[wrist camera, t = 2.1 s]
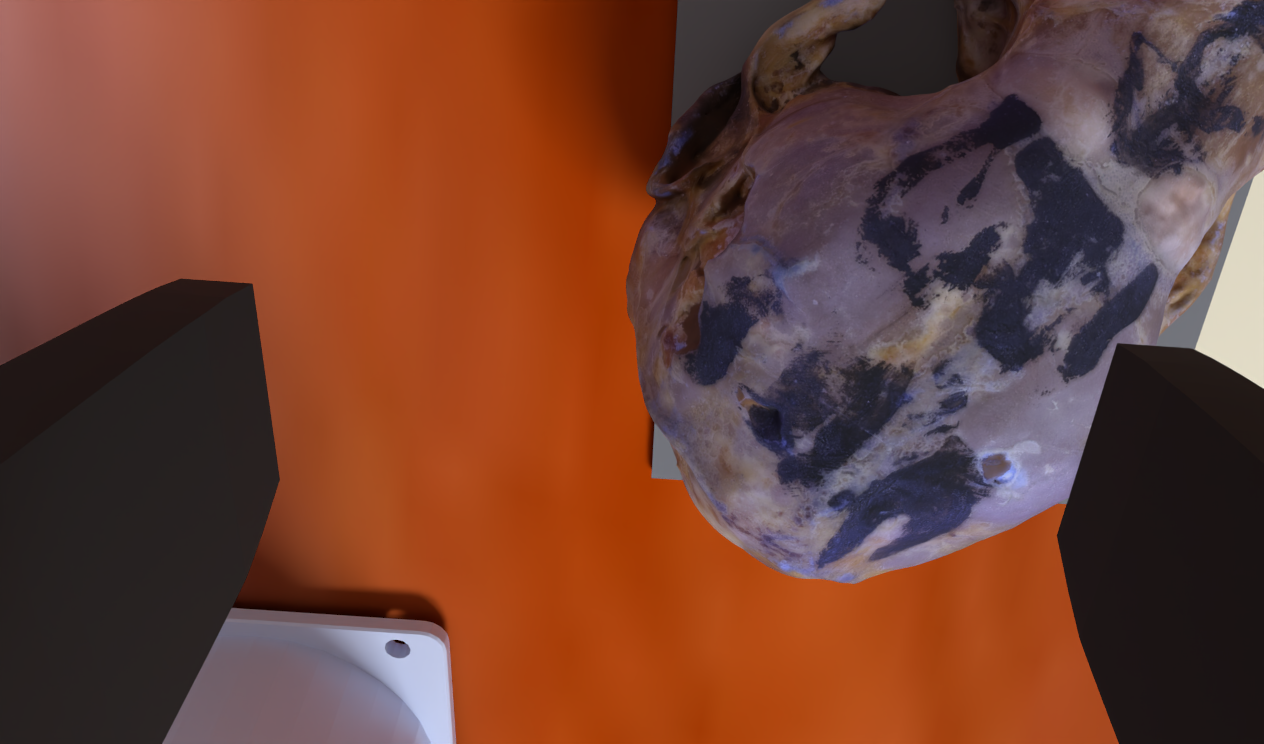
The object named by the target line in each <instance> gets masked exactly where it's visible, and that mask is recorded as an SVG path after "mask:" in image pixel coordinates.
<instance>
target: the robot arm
mask: <svg viewBox="0 0 1264 744" xmlns="http://www.w3.org/2000/svg"><path fill="white" fill-rule="evenodd" d="M279 480H280V478H279V471H278V464H277V456H276V449H275V442H274V435H273V428H272V420H271V413H270V406H269V399H268V392H267V384H266V377H265V370H264V363H263V356H262V348H261V341H260V334H259V327H258V320H257V312H256V305H255V298H254V291H253V284H250V283H235V282H220V281H206V280H191V279H179V280H176V281H174V282H171V283H168V284H165V285H163V286H160V287H158V288H155V289H153V290H151V291H148V292H146V293H144V294H142V295H140V296H138V297H135V298H133V299H131V300H129V301H127V302H125V303H123V304H121V305H119V306H117V307H115V308H113V309H111V310H109V311H107V312H105V313H103V314H101V315H99V316H97V317H95V318H93V319H91V320H89V321H87V322H85V323H83V324H81V325H79V326H77V327H75V328H73V329H71V330H69V331H67V332H65V333H64V334H62V335H60V336H58V337H56V338H54V339H52V340H50V341H48V342H46V343H44V344H42V345H40V346H38V347H36V348H34V349H32V350H30V351H28V352H26V353H24V354H22V355H20V356H18V357H16V358H14V359H12V360H10V361H9V362H7V363H5V364H3V365H1V366H0V744H456V733H455V719H454V704H453V689H452V674H451V659H450V644H449V638H448V635H447V633H446V632H445V630H444V629H443V628H442V627H440V626H438V625H437V624H435V623H433V622H428V621H421V620H406V619H391V618H376V617H361V616H346V615H331V614H316V613H301V612H286V611H271V610H256V609H241V608H232V606H233V604H234V602H235V600H236V598H237V596H238V594H239V592H240V590H241V588H242V586H243V584H244V582H245V580H246V578H247V575H248V572H249V570H250V567H251V564H252V561H253V558H254V556H255V553H256V550H257V547H258V544H259V542H260V539H261V536H262V533H263V530H264V527H265V524H266V521H267V518H268V514H269V511H270V508H271V505H272V502H273V499H274V496H275V493H276V490H277V486H278V483H279ZM1057 538H1058V543H1059V548H1060V553H1061V558H1062V563H1063V567H1064V572H1065V577H1066V582H1067V587H1068V592H1069V596H1070V600H1071V604H1072V609H1073V613H1074V617H1075V621H1076V625H1077V629H1078V634H1079V638H1080V641H1081V643H1082V646H1083V649H1084V652H1085V655H1086V657H1087V660H1088V663H1089V666H1090V668H1091V671H1092V674H1093V676H1094V679H1095V682H1096V684H1097V687H1098V689H1099V692H1100V695H1101V697H1102V700H1103V703H1104V705H1105V708H1106V711H1107V713H1108V716H1109V719H1110V721H1111V724H1112V726H1113V729H1114V732H1115V734H1116V737H1117V739H1118V742H1119V744H1264V389H1263V388H1262V387H1260V386H1259V385H1257V384H1255V383H1254V382H1252V381H1251V380H1249V379H1247V378H1246V377H1244V376H1242V375H1241V374H1239V373H1237V372H1236V371H1234V370H1232V369H1231V368H1229V367H1227V366H1225V365H1224V364H1222V363H1220V362H1218V361H1216V360H1215V359H1213V358H1211V357H1209V356H1207V355H1205V354H1203V353H1201V352H1199V351H1197V350H1194V349H1192V348H1181V347H1166V346H1152V345H1137V344H1122V343H1117V345H1116V348H1115V352H1114V355H1113V358H1112V361H1111V364H1110V368H1109V371H1108V374H1107V377H1106V380H1105V384H1104V387H1103V390H1102V393H1101V396H1100V400H1099V403H1098V406H1097V409H1096V412H1095V415H1094V419H1093V422H1092V425H1091V428H1090V431H1089V435H1088V438H1087V441H1086V444H1085V447H1084V451H1083V454H1082V457H1081V460H1080V463H1079V467H1078V470H1077V473H1076V476H1075V479H1074V483H1073V486H1072V489H1071V492H1070V495H1069V499H1068V502H1067V505H1066V508H1065V511H1064V515H1063V518H1062V521H1061V524H1060V527H1059V531H1058V534H1057ZM393 640H400V641H404V642H405V643H406V644H400V643H396V642H395V641H393Z"/></svg>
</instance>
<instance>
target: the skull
mask: <svg viewBox="0 0 1264 744" xmlns="http://www.w3.org/2000/svg"><path fill="white" fill-rule="evenodd" d="M886 1H887V0H811V1H810V2H808V3H807V4H805V5H803V6H802V7H800V8H798V9H796V10H794V11H792V12H791V13H789V14H787V15H785V16H784V17H782V18H781V19H779V20H778V21H776V22H775V23H774V24H772V25H771V26H770V27H769V28H768V29H767V30H766V31H765V32H764V33H763V35H762V36H761V37H760V39H759V40H758V42H757V44H756V45H755V47H754V49H753V51H752V52H751V54H750V55H749V57H748V58H747V60H746V61H745V63H744V64H743V67H742V71H741V72H740V73H738V74H736V75H734V76H733V77H731V78H729V79H727V80H725V81H722V82H720V83H717V84H714V85H712V86H711V87H709V88H708V89H707V90H705V91H704V92H703V93H702V94H701V95H700V97H699V98H698V99H697V100H696V102H695V103H694V104H693V105H692V106H691V107H690V108H689V109H688V110H687V111H686V112H685V113H684V114H683V115H682V116H681V117H680V118H679V119H678V120H677V121H676V123H675V124H674V125H673V126H672V128H671V130H670V132H669V135H668V143H667V146H666V149H665V151H664V154H663V156H662V158H661V159H660V161H659V162H658V163H657V165H656V167H655V169H654V171H653V173H652V175H651V177H650V179H649V181H648V183H647V186H646V191H647V193H648V194H649V195H650V196H652V197H654V198H655V199H656V205H655V207H654V209H653V210H652V211H651V213H650V214H649V215H648V217H647V218H646V220H645V221H644V223H643V225H642V227H641V229H640V232H639V234H638V238H637V241H636V244H635V248H634V251H633V254H632V257H631V261H630V265H629V272H628V275H627V280H626V291H627V299H628V302H627V311H628V315H629V318H630V320H631V322H632V324H633V326H634V329H635V336H636V351H637V363H638V373H639V380H640V385H641V389H642V393H643V397H644V401H645V405H646V407H647V410H648V412H649V414H650V416H651V417H652V419H653V421H654V423H655V424H656V425H657V427H658V428H659V429H660V430H661V432H662V433H663V435H664V436H665V438H666V439H667V440H668V441H669V442H670V444H671V447H672V449H673V452H674V455H675V457H676V460H677V465H676V466H677V467H678V468H679V470H680V473H681V476H682V479H683V481H684V484H685V487H686V489H687V491H688V493H689V495H690V497H691V499H692V501H693V502H694V504H695V506H696V507H697V509H698V510H699V511H700V512H701V514H702V515H703V516H704V517H705V519H706V520H707V521H708V522H709V523H710V524H711V525H712V526H713V527H714V528H715V529H716V530H717V531H718V532H719V533H720V534H722V535H723V536H724V537H725V538H727V539H728V540H729V541H731V542H732V543H734V544H736V545H737V546H739V547H741V548H743V549H744V550H745V551H746V552H747V553H749V554H750V555H751V556H753V557H754V558H756V559H757V560H759V561H760V562H762V563H763V564H765V565H766V566H768V567H770V568H772V569H774V570H776V571H778V572H780V573H783V574H785V575H788V576H792V577H796V578H804V579H825V580H832V581H836V582H840V583H852V584H855V583H858V582H861V581H863V580H865V579H867V578H870V577H873V576H876V575H879V574H882V573H885V572H888V571H892V570H896V569H901V568H906V567H911V566H915V565H918V564H922V563H925V562H928V561H931V560H934V559H937V558H940V557H942V556H945V555H948V554H950V553H953V552H955V551H958V550H960V549H963V548H965V547H967V546H970V545H972V544H974V543H976V542H978V541H981V540H984V539H986V538H989V537H991V536H994V535H996V534H998V533H1001V532H1003V531H1006V530H1009V529H1011V528H1014V527H1015V526H1017V525H1019V524H1021V523H1022V522H1024V521H1026V520H1028V519H1030V518H1031V517H1033V516H1035V515H1037V514H1039V513H1041V512H1043V511H1044V510H1046V509H1048V508H1050V507H1051V506H1053V505H1055V504H1057V503H1059V502H1061V501H1063V500H1065V499H1067V498H1069V495H1070V492H1071V489H1072V486H1073V483H1074V479H1075V476H1076V473H1077V470H1078V467H1079V463H1080V460H1081V457H1082V454H1083V451H1084V447H1085V444H1086V441H1087V438H1088V435H1089V431H1090V428H1091V425H1092V422H1093V419H1094V415H1095V412H1096V409H1097V406H1098V403H1099V400H1100V396H1101V393H1102V390H1103V387H1104V384H1105V380H1106V377H1107V374H1108V371H1109V368H1110V364H1111V361H1112V358H1113V355H1114V352H1115V348H1116V345H1117V343H1122V344H1137V345H1152V346H1156V344H1157V341H1158V337H1159V336H1160V335H1161V334H1162V333H1163V332H1164V331H1165V330H1166V329H1167V328H1168V327H1169V326H1170V325H1171V324H1172V323H1173V322H1174V321H1175V320H1176V319H1177V318H1178V317H1180V316H1181V315H1182V314H1183V313H1184V312H1185V311H1186V310H1187V309H1188V308H1189V307H1190V306H1191V305H1192V304H1193V303H1194V302H1195V301H1196V299H1197V298H1198V297H1199V296H1200V294H1201V293H1202V291H1203V290H1204V289H1205V287H1206V286H1207V285H1208V283H1209V282H1210V281H1211V279H1212V276H1213V272H1214V269H1215V266H1216V264H1217V261H1218V258H1219V255H1220V253H1221V249H1222V245H1223V240H1224V236H1225V230H1226V225H1227V220H1228V216H1229V213H1230V210H1231V206H1232V203H1233V199H1234V196H1235V194H1236V192H1237V191H1238V190H1239V189H1240V188H1241V187H1242V186H1243V185H1244V184H1245V183H1247V182H1248V181H1249V180H1251V179H1252V178H1253V177H1255V176H1256V175H1257V174H1259V173H1260V172H1262V171H1263V170H1264V0H954V8H956V10H957V36H958V55H957V60H956V74H957V78H958V82H959V83H957V84H954V85H950V86H948V87H947V88H945V89H943V90H941V91H939V92H936V93H931V94H919V95H911V96H901V95H899V94H897V93H895V92H892V91H890V90H887V89H884V88H881V87H874V86H864V85H861V84H858V83H853V82H844V81H834V80H831V79H829V78H828V77H826V76H825V75H824V74H823V72H822V71H821V70H820V68H821V65H822V63H823V62H824V61H825V60H826V58H827V57H828V56H829V55H830V54H831V52H832V50H833V49H834V47H835V42H836V37H837V33H840V32H844V31H851V30H855V29H857V28H859V27H861V26H863V25H865V24H866V23H868V22H869V21H871V20H872V19H873V18H874V17H875V16H876V15H877V13H878V12H879V11H880V10H881V9H882V8H883V7H884V5H885V3H886Z"/></svg>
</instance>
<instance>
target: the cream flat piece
mask: <svg viewBox="0 0 1264 744" xmlns="http://www.w3.org/2000/svg"><path fill="white" fill-rule="evenodd" d="M810 1H811V0H678V9H677V27H676V46H675V64H674V82H673V100H672V118H671V128H672V126H673V125H674V124H675V123H676V121H677V120H678V119H679V118H680V117H681V116H682V115H683V114H684V113H685V112H686V111H687V110H688V109H689V108H690V107H691V106H692V105H693V104H694V103H695V102H696V100H697V99H698V98H699V97H700V95H701V94H702V93H703V92H704V91H705V90H707V89H708V88H709V87H711V86H712V85H714V84H717V83H720V82H722V81H725V80H727V79H729V78H731V77H733V76H734V75H736V74H738V73H740V72H741V71H742V67H743V64H744V63H745V61H746V60H747V58H748V57H749V55H750V54H751V52H752V51H753V49H754V47H755V45H756V44H757V42H758V40H759V39H760V37H761V36H762V35H763V33H764V32H765V31H766V30H767V29H768V28H769V27H770V26H771V25H772V24H774V23H775V22H776V21H778V20H779V19H781V18H782V17H784V16H785V15H787V14H789V13H791V12H792V11H794V10H796V9H798V8H800V7H802V6H803V5H805V4H807V3H808V2H810ZM957 55H958V36H957V10H956V8H954V0H887V1H886V3H885V5H884V7H883V8H882V9H881V10H880V11H879V12H878V13H877V15H876V16H875V17H874V18H873V19H872V20H871V21H869V22H868V23H866V24H865V25H863V26H861V27H859V28H857V29H855V30H851V31H844V32H840V33H837V37H836V42H835V47H834V49H833V50H832V52H831V54H830V55H829V56H828V57H827V58H826V60H825V61H824V62H823V63H822V65H821V68H820V70H821V71H822V72H823V74H824V75H825V76H826V77H828V78H829V79H831V80H834V81H844V82H853V83H858V84H861V85H864V86H874V87H881V88H884V89H887V90H890V91H892V92H895V93H897V94H899V95H901V96H911V95H919V94H931V93H936V92H939V91H941V90H943V89H945V88H947V87H948V86H950V85H954V84H957V83H959V82H958V78H957V74H956V60H957ZM1156 346H1166V347H1181V348H1192V349H1194V350H1197V351H1199V352H1201V353H1203V354H1205V355H1207V356H1209V357H1211V358H1213V359H1215V360H1216V361H1218V362H1220V363H1222V364H1224V365H1225V366H1227V367H1229V368H1231V369H1232V370H1234V371H1236V372H1237V373H1239V374H1241V375H1242V376H1244V377H1246V378H1247V379H1249V380H1251V381H1252V382H1254V383H1255V384H1257V385H1259V386H1260V387H1262V388H1263V389H1264V170H1263V171H1262V172H1260V173H1259V174H1257V175H1256V176H1255V177H1253V178H1252V179H1251V180H1249V181H1248V182H1247V183H1245V184H1244V185H1243V186H1242V187H1241V188H1240V189H1239V190H1238V191H1237V192H1236V194H1235V196H1234V199H1233V203H1232V206H1231V210H1230V213H1229V216H1228V220H1227V225H1226V230H1225V236H1224V240H1223V245H1222V249H1221V253H1220V255H1219V258H1218V261H1217V264H1216V266H1215V269H1214V272H1213V276H1212V279H1211V281H1210V282H1209V283H1208V285H1207V286H1206V287H1205V289H1204V290H1203V291H1202V293H1201V294H1200V296H1199V297H1198V298H1197V299H1196V301H1195V302H1194V303H1193V304H1192V305H1191V306H1190V307H1189V308H1188V309H1187V310H1186V311H1185V312H1184V313H1183V314H1182V315H1181V316H1180V317H1178V318H1177V319H1176V320H1175V321H1174V322H1173V323H1172V324H1171V325H1170V326H1169V327H1168V328H1167V329H1166V330H1165V331H1164V332H1163V333H1162V334H1161V335H1160V336H1159V337H1158V341H1157V344H1156ZM676 465H677V460H676V457H675V455H674V452H673V449H672V447H671V444H670V442H669V441H668V440H667V439H666V438H665V436H664V435H663V433H662V432H661V430H660V429H659V428H658V427H657V425H656V424H654V443H653V461H652V478H661V479H677V480H683V479H682V476H681V473H680V470H679V468H678V467H677V466H676ZM1068 499H1069V498H1067V499H1065V500H1063V501H1061V502H1059V504H1067V502H1068Z"/></svg>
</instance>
